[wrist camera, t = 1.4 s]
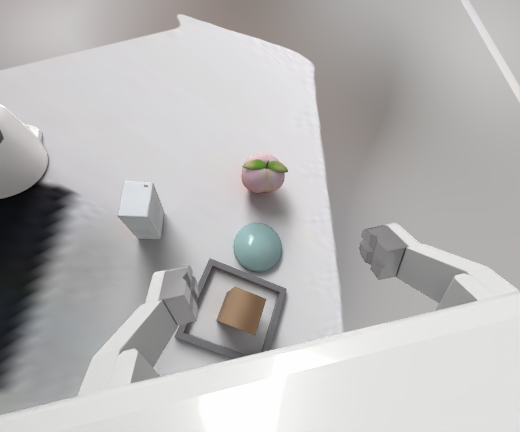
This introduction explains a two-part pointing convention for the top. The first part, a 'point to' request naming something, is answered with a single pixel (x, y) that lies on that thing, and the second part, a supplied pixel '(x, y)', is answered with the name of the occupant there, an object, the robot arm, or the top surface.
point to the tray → (246, 276)
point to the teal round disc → (257, 247)
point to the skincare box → (141, 209)
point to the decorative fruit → (263, 173)
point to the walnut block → (242, 310)
